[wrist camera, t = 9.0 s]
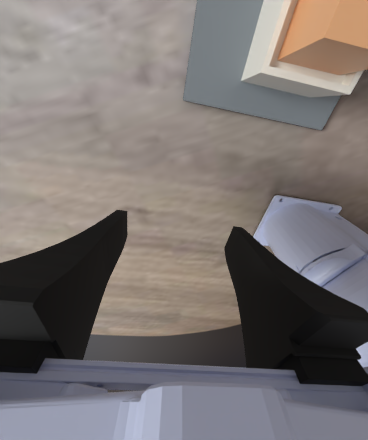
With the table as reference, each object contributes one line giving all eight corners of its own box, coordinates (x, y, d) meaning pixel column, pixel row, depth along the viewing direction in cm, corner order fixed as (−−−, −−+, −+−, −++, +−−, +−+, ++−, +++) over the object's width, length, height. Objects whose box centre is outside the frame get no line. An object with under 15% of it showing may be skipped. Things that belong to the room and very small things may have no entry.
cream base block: (364, -18, 12) (446, -73, 8) (310, 97, 15) (350, 94, 12) (276, -47, 11) (323, -122, 7) (240, 81, 15) (260, 72, 11)
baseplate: (388, -5, 13) (399, -11, 12) (316, 129, 18) (321, 130, 17) (206, -65, 11) (207, -76, 11) (182, 100, 16) (183, 100, 15)
